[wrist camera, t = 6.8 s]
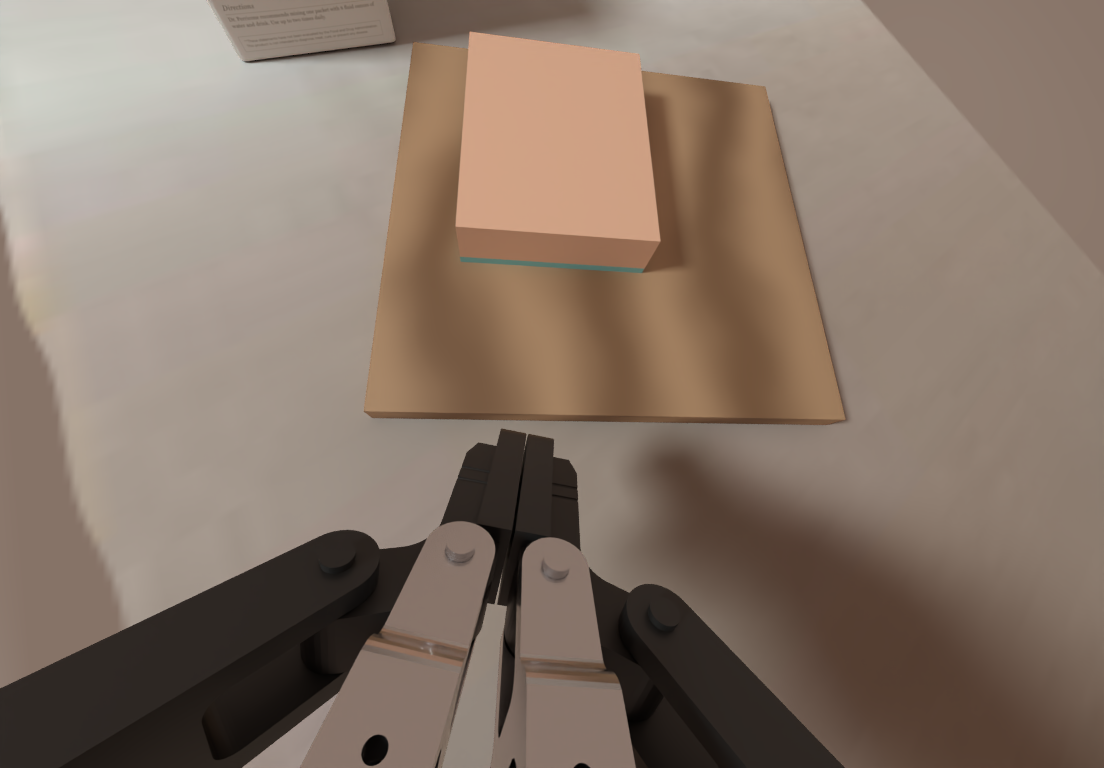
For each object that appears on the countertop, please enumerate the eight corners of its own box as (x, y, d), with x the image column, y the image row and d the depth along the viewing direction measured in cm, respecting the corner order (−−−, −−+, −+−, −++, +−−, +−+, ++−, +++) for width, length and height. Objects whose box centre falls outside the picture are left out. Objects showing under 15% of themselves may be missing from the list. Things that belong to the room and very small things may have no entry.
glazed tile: (641, 273, 20) (625, 99, 24) (660, 241, 18) (639, 54, 22) (460, 261, 19) (472, 81, 23) (455, 226, 17) (469, 31, 21)
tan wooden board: (754, 104, 27) (765, 86, 26) (826, 425, 20) (845, 419, 19) (417, 63, 24) (413, 41, 23) (372, 417, 18) (363, 411, 17)
